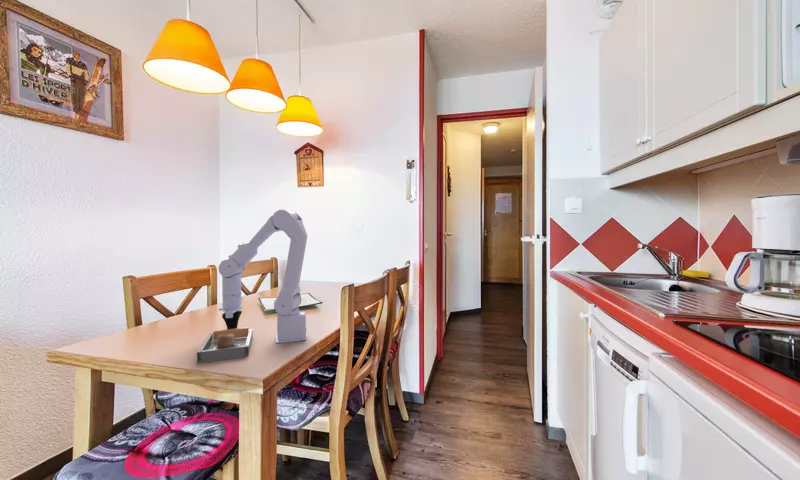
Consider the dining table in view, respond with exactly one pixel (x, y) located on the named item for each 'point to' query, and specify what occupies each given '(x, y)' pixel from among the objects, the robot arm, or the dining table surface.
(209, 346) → the housing
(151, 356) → the dining table surface
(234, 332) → the gate
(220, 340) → the brown rounded block
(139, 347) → the dining table surface
